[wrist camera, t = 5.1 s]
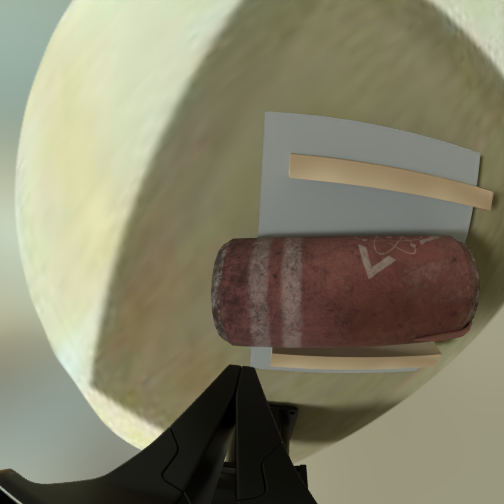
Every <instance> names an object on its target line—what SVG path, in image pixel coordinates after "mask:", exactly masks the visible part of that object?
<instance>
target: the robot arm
mask: <svg viewBox="0 0 504 504" xmlns="http://www.w3.org/2000/svg"><path fill="white" fill-rule="evenodd" d="M297 415H298V409H297V408H296V407H285V406H270V405H268V402H267V400H266V397H265V395H264V392H263V389H262V387H261V384H260V381H259V379H258V376H257V373H256V370H255V368H254V367H249V366H242V368H241V366H239V365H228V366H227V367H226V368H225V369H224V371H223V372H222V373H221V374H220V375H219V376H218V377H217V378H216V379H215V380H214V381H213V382H212V383H211V385H210V386H209V387H208V388H207V389H206V390H205V391H204V392H203V393H202V394H201V395H200V396H199V397H198V398H197V399H196V400H195V401H194V402H193V403H192V404H191V405H190V406H189V407H188V408H187V409H186V410H185V411H184V412H183V414H182V415H181V416H180V417H179V418H178V419H177V420H176V421H175V422H174V423H173V424H172V425H170V427H168V428H167V429H166V430H165V431H164V432H163V433H162V434H161V435H160V436H159V437H158V438H157V439H156V440H155V441H153V442H152V443H151V444H150V445H149V446H147V447H146V448H145V449H143V450H142V451H141V452H139V453H138V454H136V455H135V456H134V457H132V458H131V459H129V460H128V461H126V462H125V463H123V464H122V465H120V466H119V467H117V468H116V469H115V470H113V471H112V472H110V473H108V474H106V475H104V476H101V477H98V478H94V479H89V480H82V481H74V482H64V483H53V484H39V483H34V482H31V481H29V480H27V479H25V478H23V477H22V476H21V475H20V474H18V473H17V472H16V471H14V470H12V469H4V470H0V486H1V487H2V488H4V489H5V490H6V491H7V492H8V493H10V494H11V495H12V496H13V497H15V498H16V499H17V500H18V501H20V502H21V503H22V504H317V502H316V501H315V499H314V498H313V497H312V495H311V493H310V492H309V490H308V482H307V469H306V465H300V466H294V465H293V463H292V461H291V459H290V457H289V441H290V438H291V434H292V431H293V428H294V425H295V421H296V418H297ZM226 454H227V455H226ZM225 457H226V460H225ZM0 504H18V503H17V502H16V501H15V500H13V499H12V498H11V497H10V496H9V495H7V494H6V493H5V492H4V491H3V490H1V489H0Z"/></svg>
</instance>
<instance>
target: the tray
mask: <svg viewBox="0 0 504 504" xmlns="http://www.w3.org/2000/svg"><path fill="white" fill-rule="evenodd" d="M479 162H480V153H477V152H475V151H472V150H469V149H466V148H463V147H460V146H457V145H454V144H450V143H447V142H444V141H440V140H437V139H433V138H430V137H426V136H422V135H419V134H415V133H411V132H407V131H402V130H398V129H393V128H389V127H384V126H379V125H374V124H369V123H363V122H357V121H351V120H345V119H338V118H331V117H323V116H315V115H305V114H295V113H282V112H267V111H265V126H264V144H263V161H262V179H261V196H260V213H259V230H258V238H281V237H334V236H451V237H453V238H454V239H456V240H457V241H459V242H463V243H464V244H465V242H466V238H467V234H468V230H469V225H470V221H471V216H472V210H473V207H477V208H481V209H486V210H489V211H490V210H491V205H492V199H493V193H494V192H492V191H489V190H486V189H483V188H480V187H477V180H478V172H479ZM441 355H442V354H441V352H440V351H439V349H438V347H437V346H436V344H435V342H434V341H431V342H422V343H412V344H401V345H387V346H371V347H347V348H275V347H251V356H250V367H254V368H259V369H270V370H283V371H299V372H323V373H378V372H401V371H416V370H418V368H419V367H429V366H436V364H437V362H438V361H439V359H440V357H441Z"/></svg>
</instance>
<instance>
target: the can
mask: <svg viewBox="0 0 504 504" xmlns="http://www.w3.org/2000/svg"><path fill="white" fill-rule="evenodd" d="M479 288H480V287H479V274H478V269H477V265H476V262H475V258H474V256H473V254H472V252H471V251H470V249H469V247H468V246H466V245H465V244H464V243H463V242H459V241H457V240H456V239H454V238H453V237H451V236H334V237H281V238H241V239H232V240H230V241H229V242H227V243H226V244H224V245H223V246H222V247H221V249H220V250H219V252H218V255H217V257H216V260H215V264H214V269H213V275H212V288H211V300H212V313H213V318H214V323H215V327H216V329H217V332H218V334H219V335H220V336H221V337H222V338H223V339H224V340H225V341H227V342H228V343H230V344H231V345H233V346H251V347H275V348H347V347H371V346H387V345H401V344H412V343H422V342H431V341H443V340H448V339H453V338H458V337H462V336H464V335H465V334H466V333H467V332H468V331H469V330H470V327H471V325H472V319H473V318H474V315H475V312H476V308H477V305H478V299H479Z"/></svg>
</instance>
